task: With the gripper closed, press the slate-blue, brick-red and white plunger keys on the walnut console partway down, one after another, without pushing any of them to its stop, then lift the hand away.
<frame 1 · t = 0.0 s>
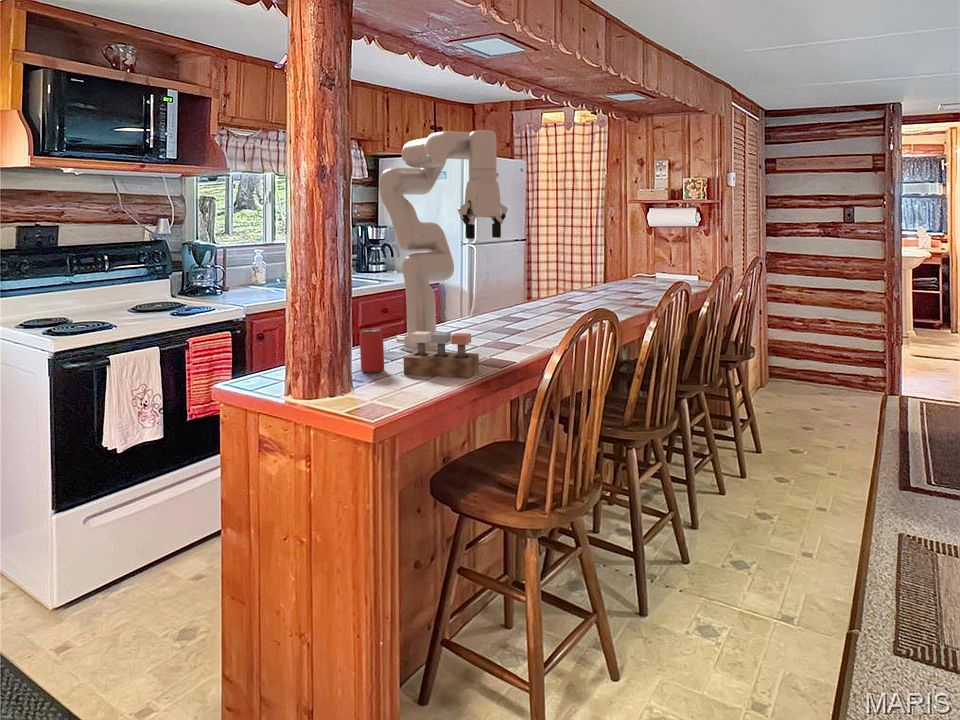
hand: (483, 238, 205), 37 cm above the table, tool pointing down, fingers open, 9 cm apart
beer can: (372, 371, 207), on the table
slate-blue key: (441, 346, 202), point 8 cm above the table, slide at 0.0 cm
white key: (421, 345, 204), point 8 cm above the table, slide at 0.0 cm
walnut console: (441, 372, 204), on the table
brick-red key: (461, 347, 201), point 8 cm above the table, slide at 0.0 cm
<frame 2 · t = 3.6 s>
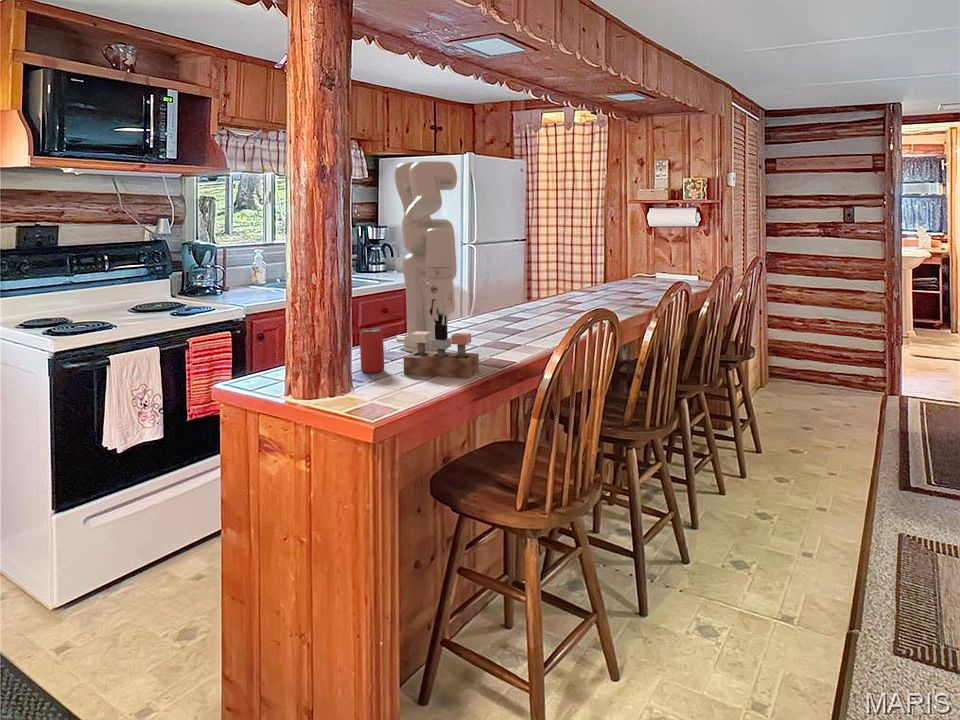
hand: (441, 339, 201), 10 cm above the table, tool pointing down, fingers closed
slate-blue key: (441, 351, 203), point 6 cm above the table, slide at 1.5 cm, touching gripper
everything else where it was.
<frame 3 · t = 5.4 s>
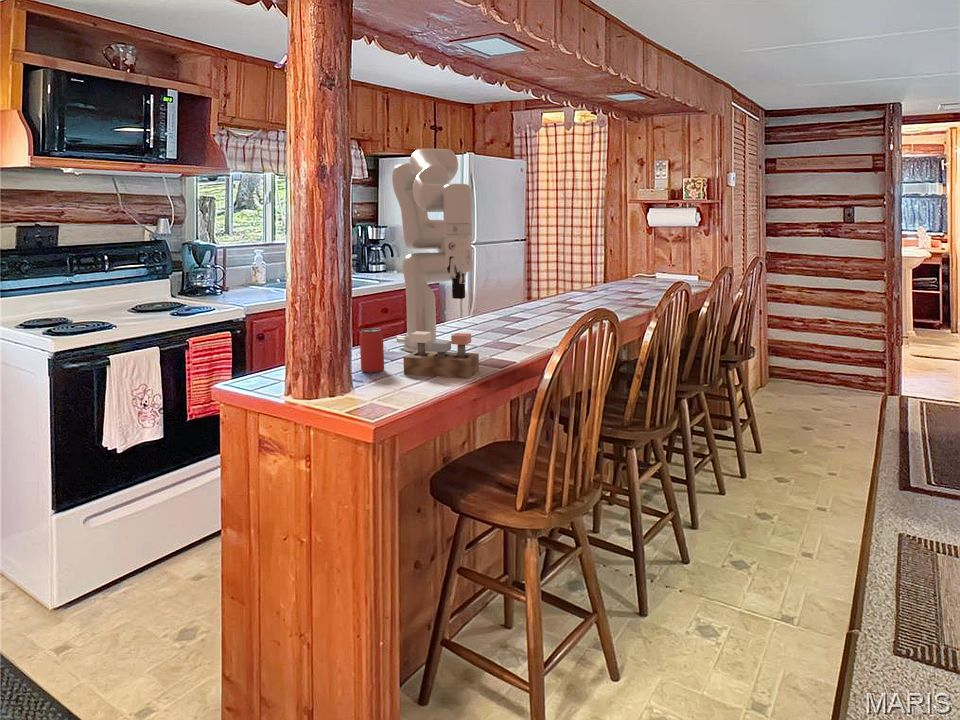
hand: (458, 298, 198), 21 cm above the table, tool pointing down, fingers closed
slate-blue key: (441, 354, 203), point 5 cm above the table, slide at 2.4 cm
everything else where it was.
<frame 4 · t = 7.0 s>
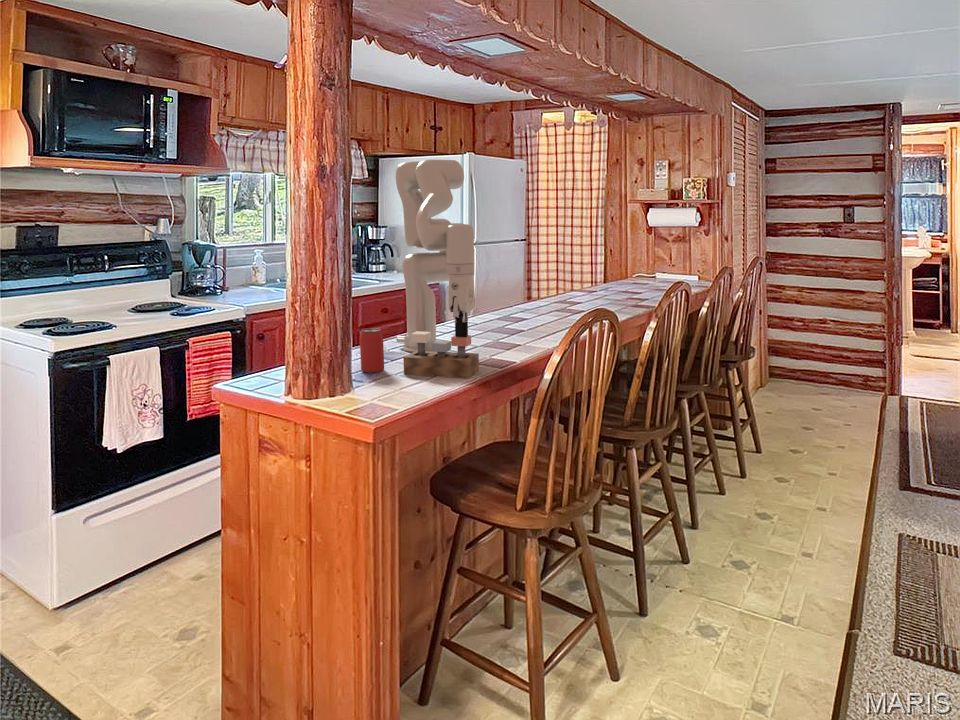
hand: (461, 336, 200), 11 cm above the table, tool pointing down, fingers closed
brick-red key: (461, 349, 201), point 7 cm above the table, slide at 0.5 cm, touching gripper
everything else where it was.
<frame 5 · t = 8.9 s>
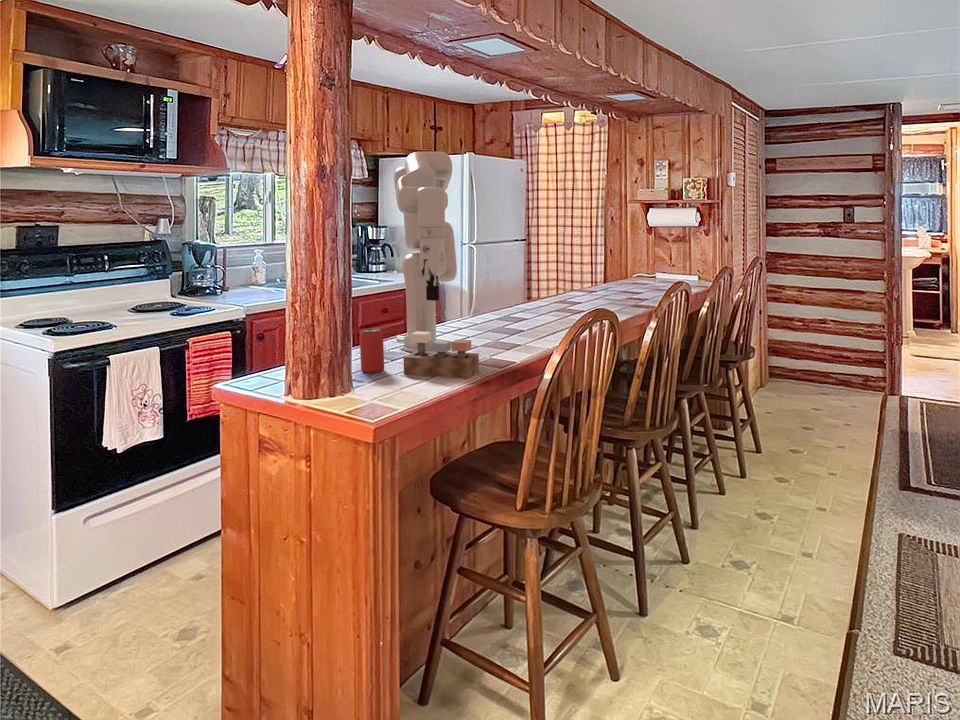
hand: (432, 299, 200), 21 cm above the table, tool pointing down, fingers closed
brick-red key: (461, 354, 201), point 6 cm above the table, slide at 1.9 cm
everything else where it was.
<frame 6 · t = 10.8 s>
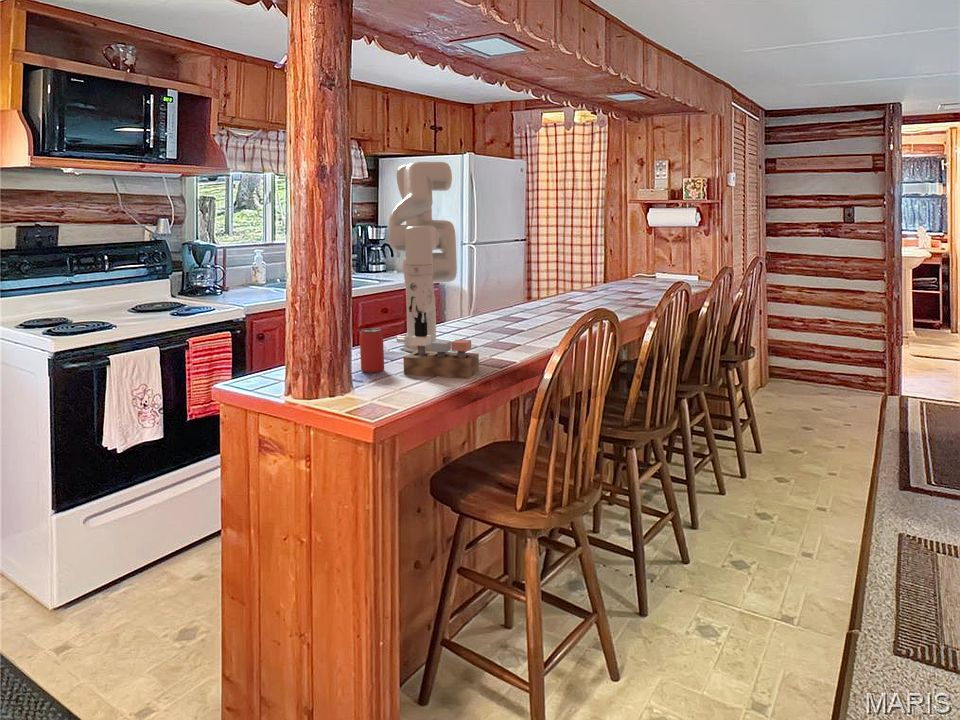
hand: (421, 336, 203), 10 cm above the table, tool pointing down, fingers closed
white key: (421, 348, 204), point 7 cm above the table, slide at 0.9 cm, touching gripper
everything else where it was.
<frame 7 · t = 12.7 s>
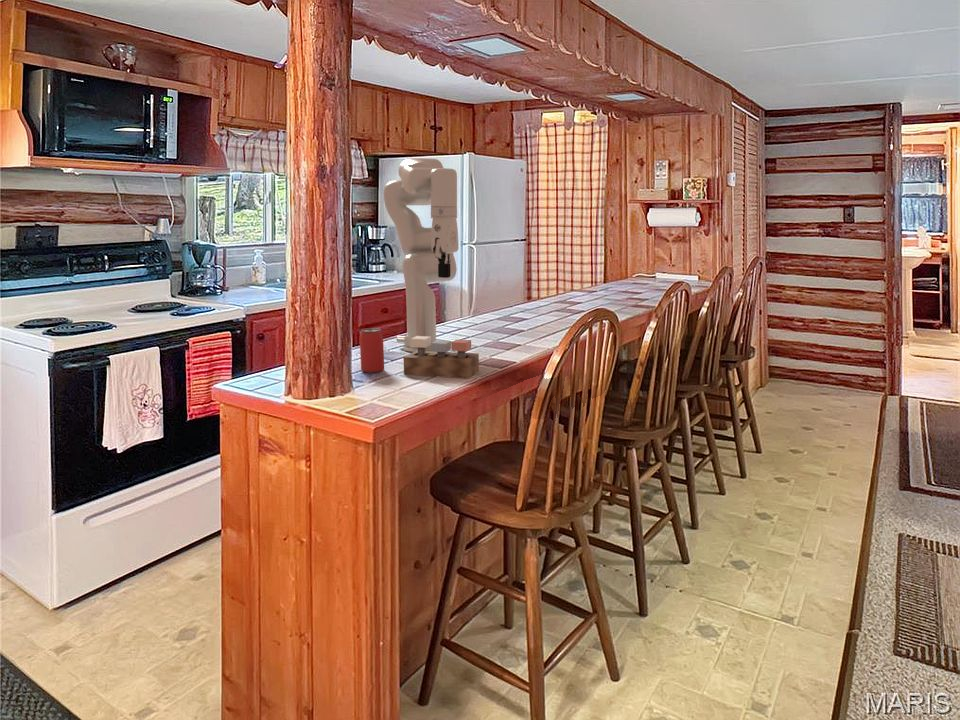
hand: (444, 277, 209), 26 cm above the table, tool pointing down, fingers closed
white key: (421, 350, 204), point 6 cm above the table, slide at 1.4 cm
everything else where it was.
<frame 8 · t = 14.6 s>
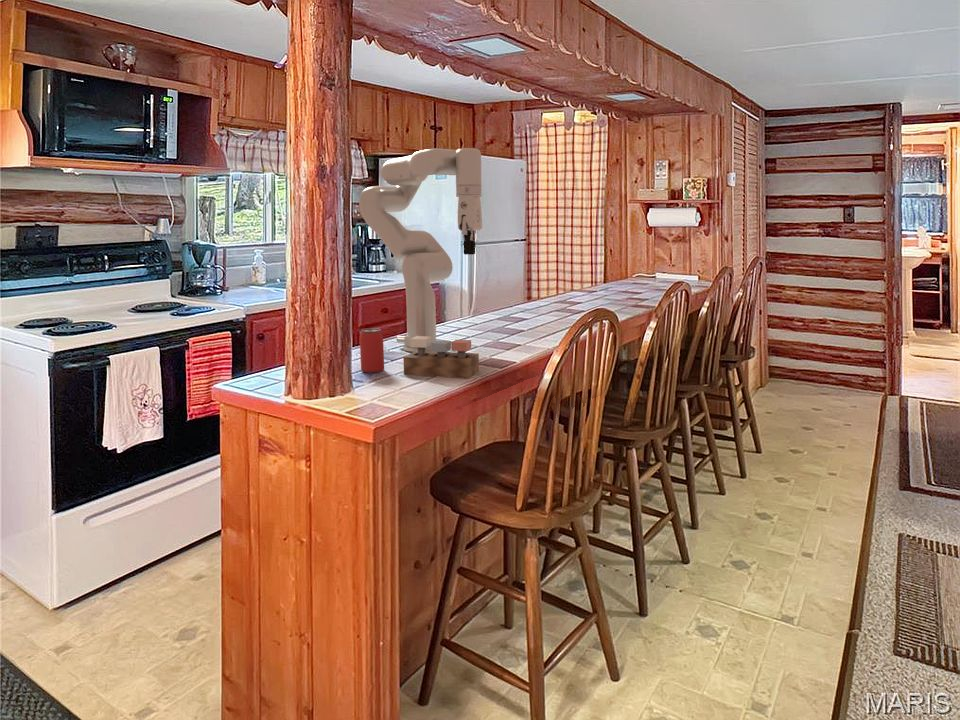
hand: (469, 254, 216), 32 cm above the table, tool pointing down, fingers closed
nothing on the table moved.
at the end: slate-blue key slide at 2.4 cm; brick-red key slide at 1.9 cm; white key slide at 1.4 cm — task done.
